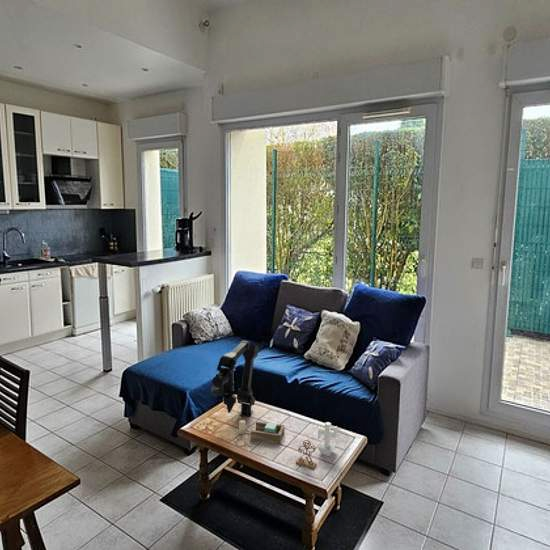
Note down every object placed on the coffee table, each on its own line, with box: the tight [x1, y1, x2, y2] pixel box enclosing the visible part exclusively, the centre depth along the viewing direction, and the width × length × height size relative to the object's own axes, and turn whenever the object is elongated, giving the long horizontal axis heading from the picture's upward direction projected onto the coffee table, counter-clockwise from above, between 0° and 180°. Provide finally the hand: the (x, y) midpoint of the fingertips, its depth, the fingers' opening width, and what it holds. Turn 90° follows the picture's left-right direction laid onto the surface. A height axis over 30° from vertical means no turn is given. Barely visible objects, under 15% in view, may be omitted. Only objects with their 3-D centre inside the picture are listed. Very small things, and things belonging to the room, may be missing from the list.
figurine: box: [316, 421, 338, 457], centre depth 199 cm, size 7×9×15 cm
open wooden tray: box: [250, 420, 285, 445], centre depth 213 cm, size 10×15×4 cm
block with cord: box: [238, 419, 278, 435], centre depth 214 cm, size 5×19×6 cm, turn 77°
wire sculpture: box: [295, 439, 317, 471], centre depth 190 cm, size 9×4×12 cm, turn 63°
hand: (228, 408), depth 216 cm, fingers open, 9 cm apart
